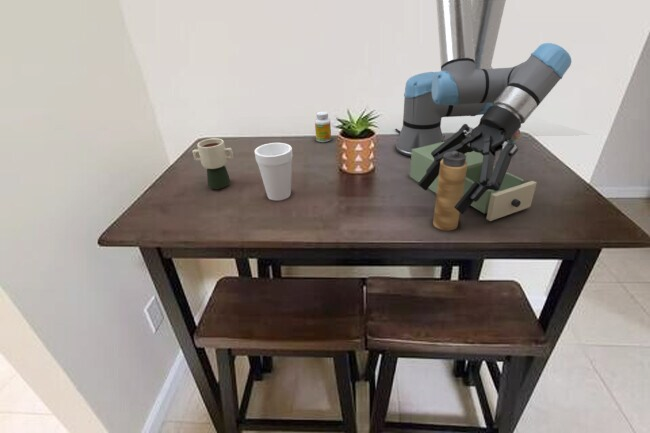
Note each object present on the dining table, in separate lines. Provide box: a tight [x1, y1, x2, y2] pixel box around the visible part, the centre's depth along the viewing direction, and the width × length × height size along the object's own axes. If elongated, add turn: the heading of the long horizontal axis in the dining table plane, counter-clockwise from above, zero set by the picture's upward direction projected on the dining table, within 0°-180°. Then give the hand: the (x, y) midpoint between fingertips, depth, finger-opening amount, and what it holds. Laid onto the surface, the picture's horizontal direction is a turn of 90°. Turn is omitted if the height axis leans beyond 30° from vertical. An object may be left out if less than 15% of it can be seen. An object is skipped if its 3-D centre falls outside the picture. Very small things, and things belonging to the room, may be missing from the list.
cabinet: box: [409, 140, 483, 194], centre depth 102 cm, size 16×14×8 cm
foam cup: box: [254, 142, 294, 201], centre depth 99 cm, size 10×9×13 cm
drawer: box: [462, 165, 538, 222], centre depth 91 cm, size 16×13×6 cm
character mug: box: [192, 137, 234, 190], centre depth 106 cm, size 11×7×13 cm, turn 91°
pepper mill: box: [432, 151, 468, 232], centre depth 82 cm, size 5×5×18 cm
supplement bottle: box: [314, 110, 332, 143], centre depth 134 cm, size 5×5×10 cm
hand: (438, 198), depth 82 cm, fingers open, 11 cm apart
